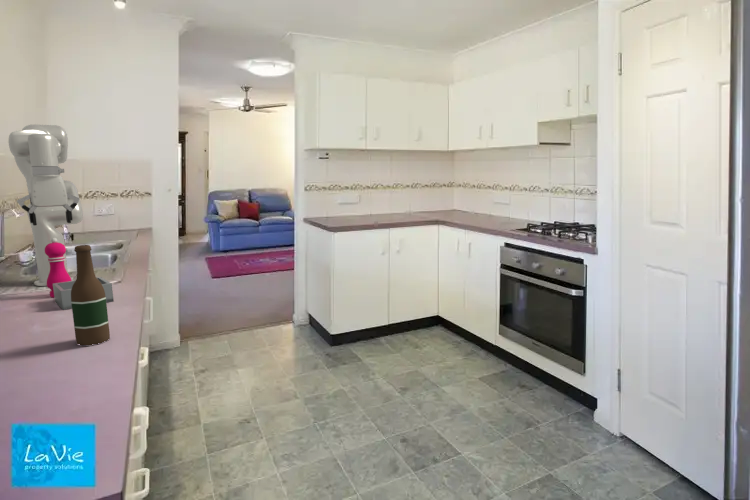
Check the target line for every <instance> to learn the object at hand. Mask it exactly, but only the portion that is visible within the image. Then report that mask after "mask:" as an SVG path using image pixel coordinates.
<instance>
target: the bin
mask: <svg viewBox="0 0 750 500" xmlns="http://www.w3.org/2000/svg"><path fill="white" fill-rule="evenodd" d="M96 278H97V279H98V280H99V281H100V282H101V284H102V286H103V288H104V291H105V296H106V304H107V303H111V302H114V293H113V291H114V290H113V284H112V282H111V281H108V280H107V279H105V278H103V277H102V276H97V277H96ZM75 281H76V279H75V280H73V281H68V282H61V283H54V284H53V290H54V302H55V303H56V304H57V306H59V307H60V308H61V310H63V311H66V310H72V304H71V290H72V286H73V284H74V282H75Z"/></svg>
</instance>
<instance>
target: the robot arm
mask: <svg viewBox="0 0 750 500" xmlns="http://www.w3.org/2000/svg"><path fill="white" fill-rule="evenodd" d="M68 140H69V139H68V134H67V132H66V130H65V128H63V127H62V126H61V125H57V124H56V125H55V124H54V125H53V124H36V123H35V124H28V125H26V126H24V127H23V128H22V129H21V130H15V131H12V132H10V133H9V135H8V141H7V143H8V148H9V151H10V153H11V155H12V156H13V157H14V160H15V161H14V162H15V163H16V166H17V168H18V170H19V171H20V172H21V174H22V175H23V177H24V179H25V183H26V186H27V192H28V194H27V195H25V196H23V197H21V198H19V199H17V200H16V203H17V204H18V205H19V206H20V207H21V208H22V209H23V210H24V211H26V213H27V216H28V217H27V218H28V221H29V225H30V228H31V232H32V236H33V237H32V238H33V244H34V251H35V259H36V260H35V261H36V266H37V275H38V279H37V280H35V281H33V284H34V285H35V286H37V287H47V278H48V275H49V272H50V263H49V262H48V259H47V258H48V256H47V255H46V254H45V247H46V246H47V245H48V244H50V243H52V242H51V239H52V238H56V239H57V242H58V243H62V244H63V245H64V246H65V247H66V244H65V238H64V235H63V234H62V232H61V231H59V230H58V229H57V228H56V227H55V226H63V225H64V226H65V225H75V224H79V223H81V222H82V220H83V218H84V211H83V206H82V204H81V199H80V194H79V191H78V189H77V185H76V184H75V183H74V182H73V181H71V180H64V177H63V176H61V174H65V168H60V166H59V165H60V164H65V163H66V161H67V159H68V147H69V141H68ZM28 200H29V204H28V205H26V204H25V202H26V201H28ZM66 253H67V252H65V254H64V256H65V260H64V265H65V269H66V271H67V273H68V274H69V271H68V270H69V268H68V259H67V255H66ZM70 278H71V280H72V281H75V280H74V276H70Z"/></svg>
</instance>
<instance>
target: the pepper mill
mask: <svg viewBox="0 0 750 500" xmlns="http://www.w3.org/2000/svg"><path fill="white" fill-rule="evenodd" d="M51 242H52V243H50V244H48V245H47V246H46V247H45V254H46V255H47V256H48V258H47V259H48V262H49V263H50V272H49V275H48V278H47V286H46V287H47V288H48V289H49V290H50V291H49V297H50V298H54V290H53V284H54V283H61V282H68V281H72V280H71V278H70V277H71V276H70V274H69V272H68V273H67V271H66V269H65V265H64V260H65V256H64V254H65V252H66V251H67V248H66V245H65V246H64V245H63V244H62V243H58V242H57V239H56V238H52V239H51ZM66 253H67V252H66ZM54 299H55V298H54Z"/></svg>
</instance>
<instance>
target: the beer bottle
mask: <svg viewBox="0 0 750 500" xmlns="http://www.w3.org/2000/svg"><path fill="white" fill-rule="evenodd" d="M73 251H74V252H75V257H76V259H75V260H76V278H75V280H76V281H75V280H74V281H75V282H74V284H73V286H72V290H71V304H72V309H71V311H72V318H73V328H74V334H75V336H74V337H75V343H76V345H77V344H80V345H92V344H97V345H99V344H98V343H102V342H104V341H106V340H108V339H109V340H111V337H110V335H111V334H110V326H109V325H110V323H109V315H108V314H109V313H108V305H107V303H106V296H105V291H104V288H103V286H102V284H101V282H100V281H99V280H98V279H97V277H96V273H95V271H94V265H93V258H92V253H91V251H92V246H91V245H89V244H79V245H76V246H74V250H73ZM109 340H108V341H109ZM106 342H107V341H106ZM104 343H105V342H104ZM102 344H103V343H102ZM92 346H93V345H92Z"/></svg>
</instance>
